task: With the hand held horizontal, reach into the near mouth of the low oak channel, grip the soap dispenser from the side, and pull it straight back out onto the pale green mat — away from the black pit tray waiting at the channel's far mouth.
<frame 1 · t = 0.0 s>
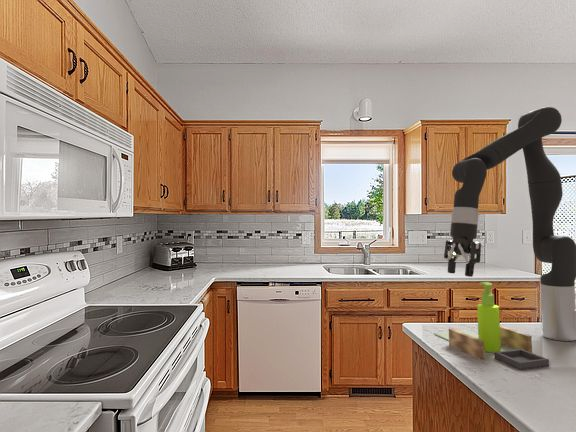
hand: (459, 274, 120), 22 cm above the counter, tool pointing down, fingers open, 8 cm apart
pit tray: (521, 362, 106), on the counter
oak channel: (488, 348, 117), on the counter
soap dispenser: (488, 349, 117), on the counter
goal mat: (460, 336, 130), on the counter
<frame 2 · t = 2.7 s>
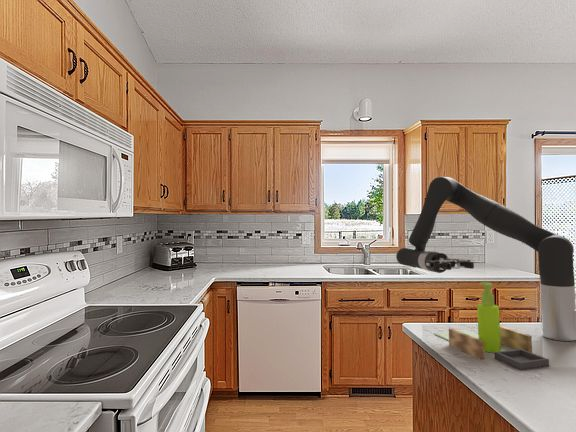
hand: (461, 266, 129), 24 cm above the counter, tool horizontal, fingers open, 8 cm apart
nothing on the counter moved.
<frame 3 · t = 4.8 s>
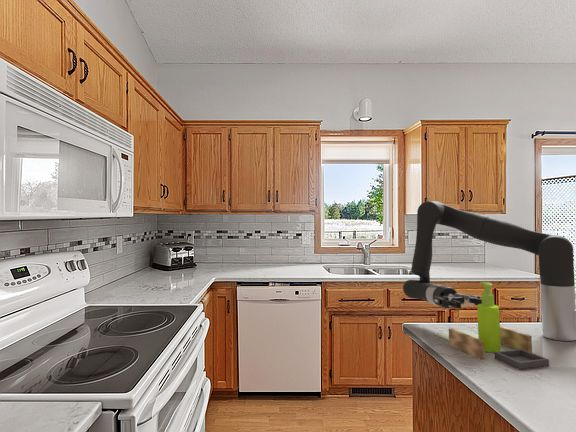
hand: (471, 304, 124), 12 cm above the counter, tool horizontal, fingers open, 8 cm apart
nothing on the counter moved.
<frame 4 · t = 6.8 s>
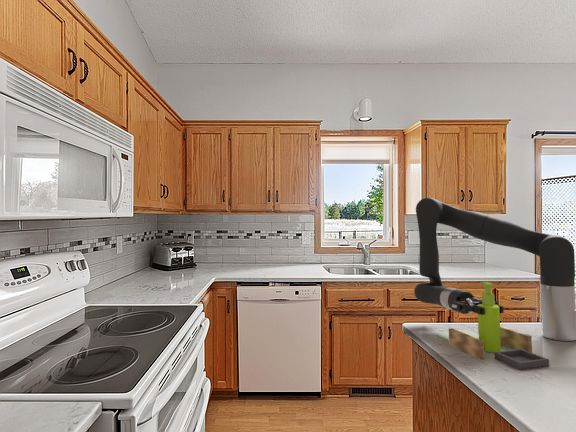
hand: (493, 310, 115), 12 cm above the counter, tool horizontal, fingers closed on soap dispenser, 6 cm apart
soap dispenser: (488, 349, 117), on the counter, touching gripper
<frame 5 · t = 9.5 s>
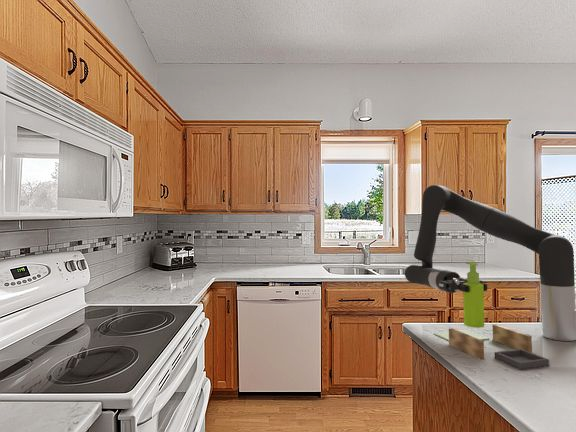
hand: (477, 288, 122), 18 cm above the counter, tool horizontal, fingers closed on soap dispenser, 6 cm apart
soap dispenser: (473, 325, 124), point 5 cm above the counter, touching gripper
when the fingers open (13 cm above the counter, at t = 12.2 s): soap dispenser stays where it is, resting on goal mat.
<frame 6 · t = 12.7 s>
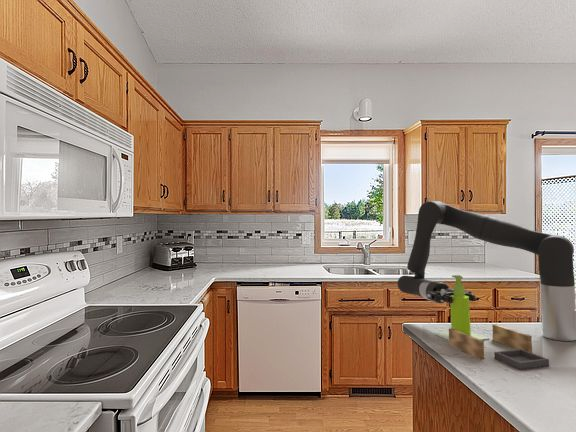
hand: (463, 299, 128), 13 cm above the counter, tool horizontal, fingers open, 8 cm apart
soap dispenser: (460, 335, 130), resting on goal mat
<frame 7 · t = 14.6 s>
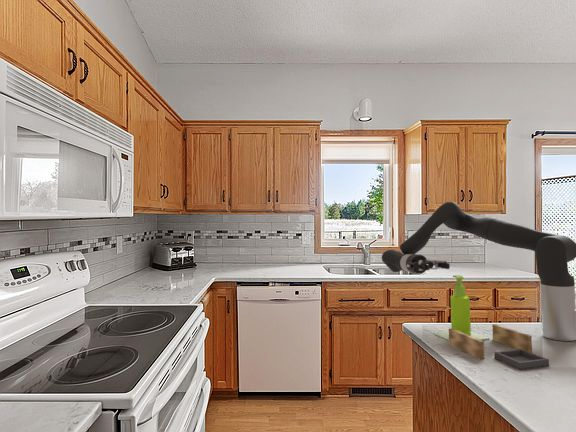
hand: (438, 266, 140), 23 cm above the counter, tool horizontal, fingers open, 8 cm apart
nothing on the counter moved.
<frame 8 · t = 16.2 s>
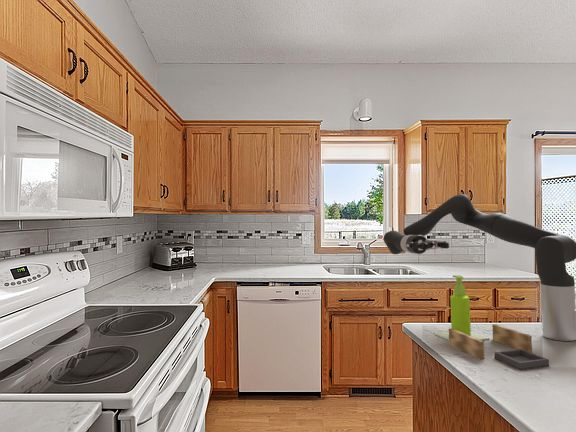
hand: (437, 246, 141), 30 cm above the counter, tool horizontal, fingers open, 8 cm apart
nothing on the counter moved.
at the end: soap dispenser 0.2 cm from the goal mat (horizontally); soap dispenser tilted 0°; the gripper is holding nothing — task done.
